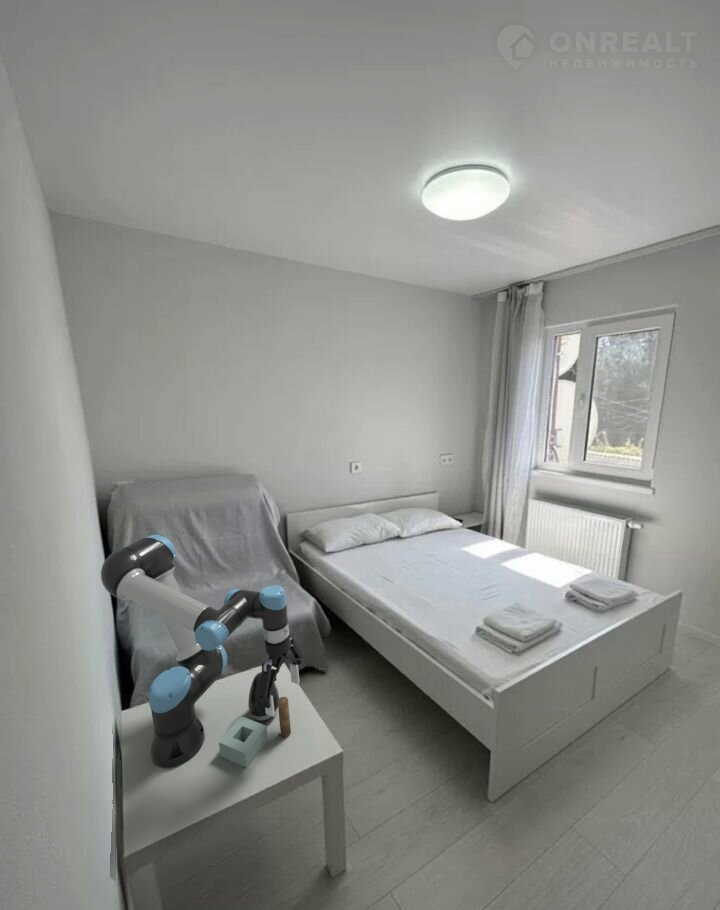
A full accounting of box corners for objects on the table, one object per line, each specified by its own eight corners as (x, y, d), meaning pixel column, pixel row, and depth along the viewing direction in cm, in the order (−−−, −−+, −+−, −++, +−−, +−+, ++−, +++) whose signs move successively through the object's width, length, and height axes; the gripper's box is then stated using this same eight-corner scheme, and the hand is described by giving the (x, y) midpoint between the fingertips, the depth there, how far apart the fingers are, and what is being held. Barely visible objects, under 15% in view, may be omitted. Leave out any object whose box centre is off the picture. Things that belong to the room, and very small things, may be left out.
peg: (278, 735, 126) (275, 703, 124) (284, 727, 129) (281, 695, 126) (287, 739, 124) (284, 706, 122) (292, 730, 127) (290, 698, 125)
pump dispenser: (273, 728, 129) (269, 687, 126) (244, 723, 131) (239, 683, 128) (285, 703, 138) (282, 664, 136) (258, 699, 141) (254, 661, 138)
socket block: (220, 756, 120) (218, 742, 119) (242, 729, 129) (241, 716, 128) (246, 768, 116) (245, 753, 115) (267, 739, 125) (266, 725, 124)
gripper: (261, 667, 107) (269, 733, 111) (309, 616, 130) (314, 673, 134) (239, 660, 111) (247, 725, 114) (289, 611, 133) (295, 667, 137)
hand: (283, 697), depth 124 cm, fingers open, 13 cm apart
